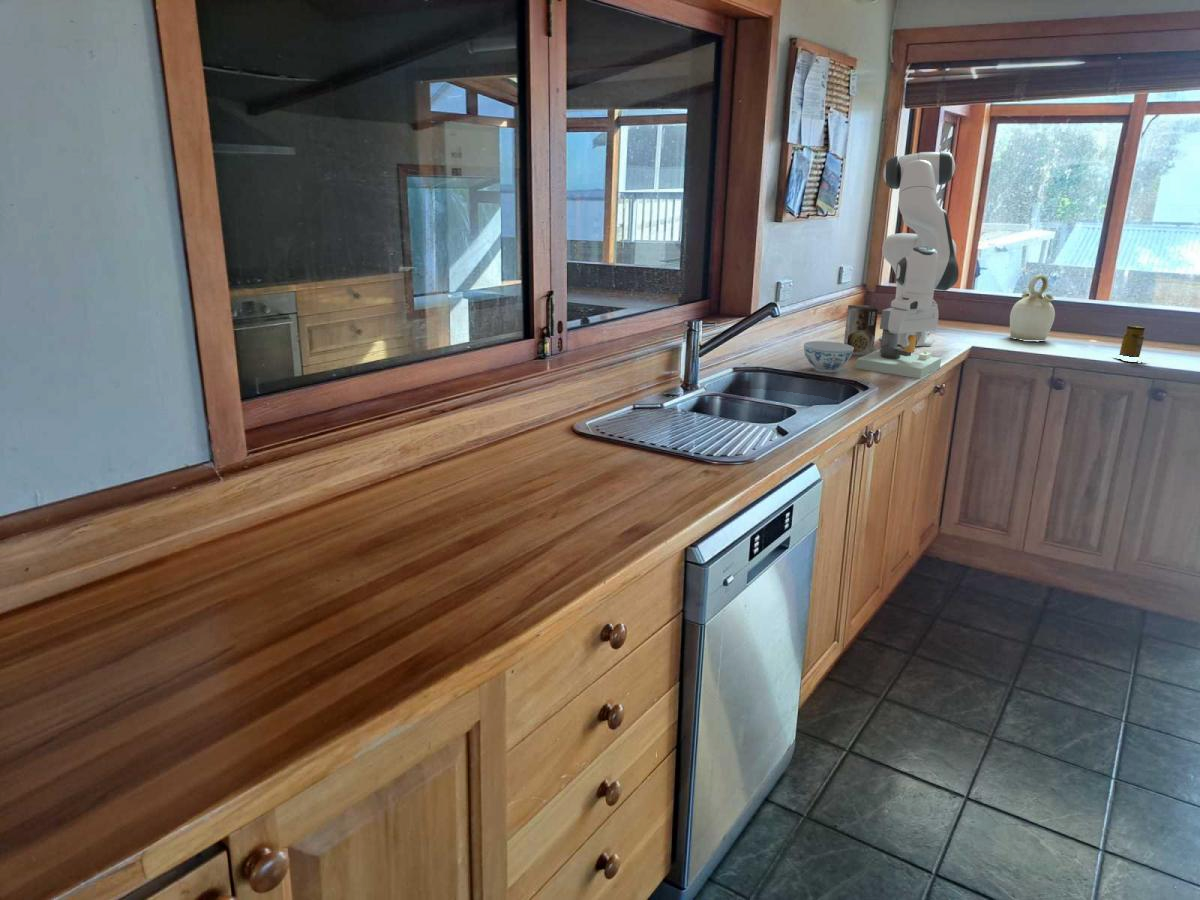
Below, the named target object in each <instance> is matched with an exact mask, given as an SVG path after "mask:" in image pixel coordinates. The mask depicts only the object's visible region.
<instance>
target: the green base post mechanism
mask: <svg viewBox="0 0 1200 900" xmlns="http://www.w3.org/2000/svg"><path fill="white" fill-rule="evenodd" d="M892 309H893V308H892V307H888V308H885V309H882V311H881V317H880V323H879V329H880V330H882V335H881V336H882V340H881V339H880V340H881V342H880V347H879V349H877V350H875V351H874V350H873V352H872V353H869V354H867V355H862V356H860V357H858V358H856V364H855V369H857V370H865V371H869V372H870V371H871V372H876V373H884V374H889V375H894V376H896V375H897V376H902V377H908V378H915V379H922V378H924V377H925V376H927V375H929V374H931V373H932V372H934V371H936V370H938V369H939V368H940V367H941V362H942V357H935V356H932V352H928V351H923V352H920V353H918V354H917V353H911V356H903V355H900V358H885V357H882V356H881V349H882V346H884V345H891V346H898V344H897V342H898V335H899V334H894V333H890V332H889V330H888V323H889V316H890V312H891V310H892Z"/></svg>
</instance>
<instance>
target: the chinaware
mask: <svg viewBox="0 0 1200 900" xmlns="http://www.w3.org/2000/svg"><path fill="white" fill-rule="evenodd" d="M803 350H804V356H805V357H806V359H807V361H808V362H809V363H810V364H811V365H812V366H813V367H814V371H816V372H819V371H820V373H825V372H834V373H837V371H838V369H841V368H842V367H843V366H845V365H846V364H847V362H849V360H850V359H851V357H852V353H853V350H854V347H852V346H850V345H847V344H844V342H843V343H841V342H835V341H827V340H826V341H824V340H823V341H822V340H813V341H812V340H811V341H806V342H804V343H803Z"/></svg>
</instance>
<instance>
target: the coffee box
mask: <svg viewBox="0 0 1200 900" xmlns="http://www.w3.org/2000/svg"><path fill="white" fill-rule="evenodd" d="M878 313H879V308H878V307H877V306H875V305H858V304H857V305H856V304H848V306H847V313H846V320H845V321H846V322H845V332H844V339H843V344H847V345H850V346H852V347H854V350H853V353H852V355H853V356H865V355H867V354H869V353H872V352H874V346H875V338H876V330H877V324H878V323H877V321H878V316H879V315H878ZM852 355H851V356H852Z"/></svg>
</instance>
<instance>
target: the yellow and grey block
mask: <svg viewBox="0 0 1200 900" xmlns="http://www.w3.org/2000/svg"><path fill="white" fill-rule="evenodd" d="M908 341H910V344H909V347H903V348H902V346H901V347H900V346H898V345H897V346H891V345H884V346H882V349H881V356H882V357H885V358H900V355H903V356H911V354H912V353H914V352H915V348H916V346H915V343H916V335H909V336H908Z"/></svg>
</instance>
